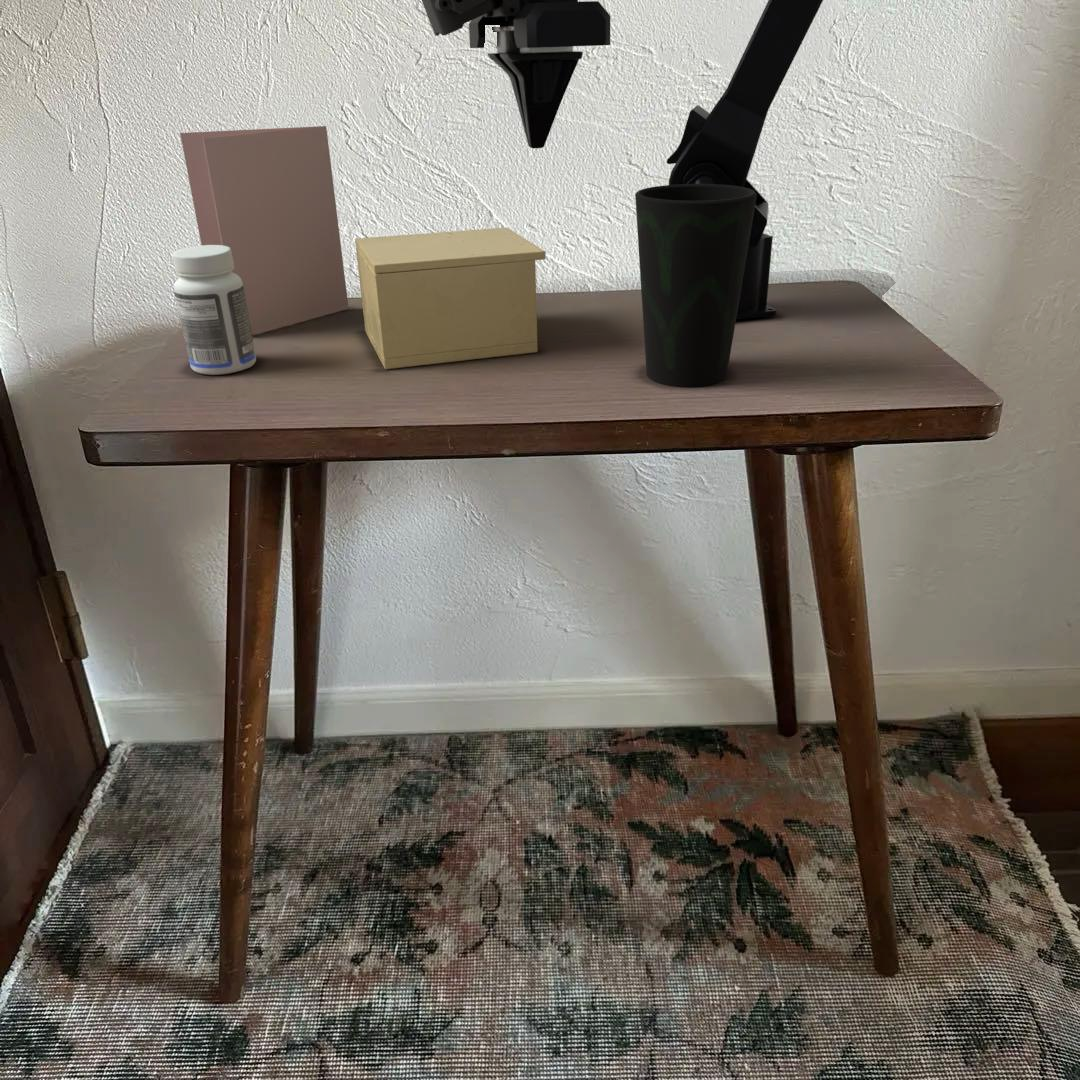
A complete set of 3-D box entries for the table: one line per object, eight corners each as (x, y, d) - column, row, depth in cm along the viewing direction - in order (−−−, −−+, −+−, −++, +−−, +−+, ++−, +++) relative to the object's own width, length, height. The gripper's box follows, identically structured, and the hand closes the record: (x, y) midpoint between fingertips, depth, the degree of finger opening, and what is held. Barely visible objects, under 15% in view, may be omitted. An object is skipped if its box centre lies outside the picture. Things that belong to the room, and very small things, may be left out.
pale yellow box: (501, 318, 80) (498, 235, 76) (537, 352, 71) (535, 260, 67) (365, 332, 77) (355, 247, 74) (384, 369, 68) (374, 274, 65)
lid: (507, 234, 77) (507, 227, 76) (546, 259, 68) (545, 251, 67) (355, 246, 74) (354, 238, 73) (374, 273, 65) (373, 265, 64)
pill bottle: (237, 352, 72) (217, 240, 68) (268, 365, 69) (249, 248, 65) (179, 367, 70) (154, 251, 66) (209, 380, 67) (185, 260, 63)
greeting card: (347, 306, 84) (325, 125, 77) (355, 327, 78) (331, 132, 71) (216, 318, 82) (180, 132, 75) (212, 340, 76) (173, 140, 69)
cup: (758, 387, 62) (775, 197, 57) (647, 396, 61) (653, 204, 56) (720, 353, 69) (732, 181, 63) (619, 361, 68) (622, 187, 62)
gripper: (402, -66, 75) (418, 143, 83) (450, -97, 60) (465, 165, 67) (534, -66, 78) (539, 137, 85) (614, -95, 62) (611, 156, 70)
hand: (536, 147), depth 77 cm, fingers closed
